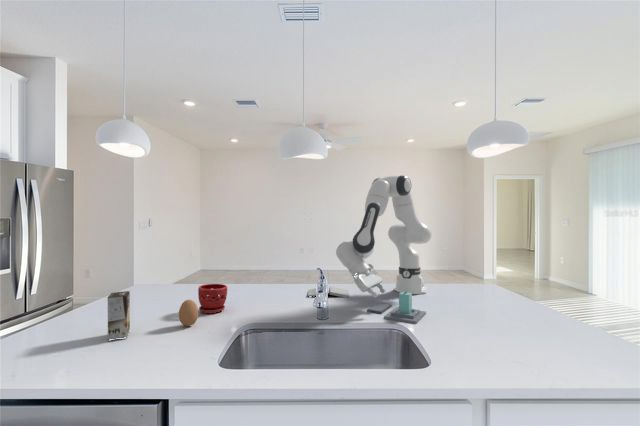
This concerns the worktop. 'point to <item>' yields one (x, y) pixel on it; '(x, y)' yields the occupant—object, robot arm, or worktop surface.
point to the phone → (379, 308)
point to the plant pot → (212, 297)
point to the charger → (405, 302)
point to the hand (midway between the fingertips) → (380, 294)
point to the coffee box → (118, 314)
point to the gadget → (331, 292)
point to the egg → (188, 313)
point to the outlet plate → (405, 316)
